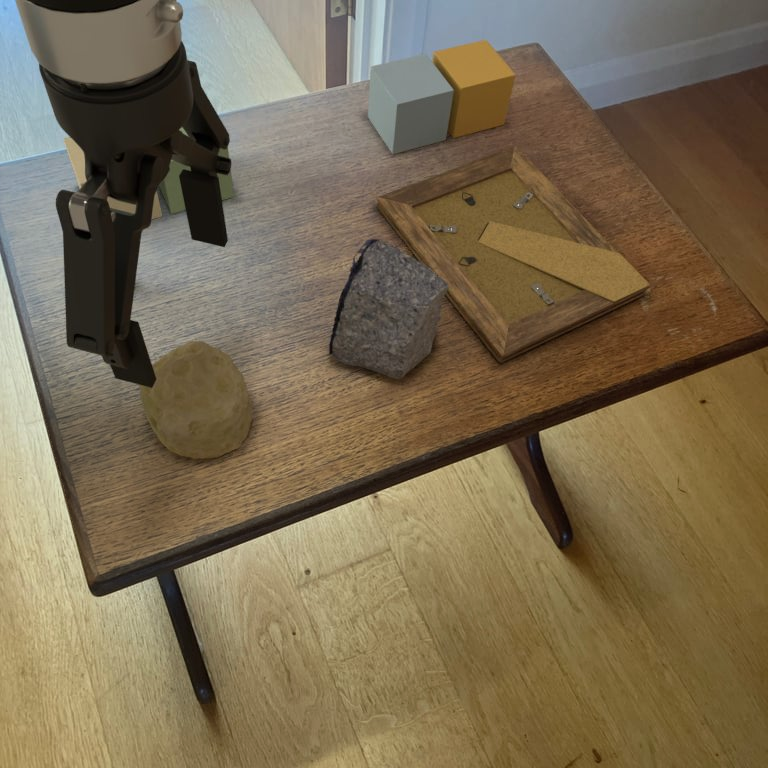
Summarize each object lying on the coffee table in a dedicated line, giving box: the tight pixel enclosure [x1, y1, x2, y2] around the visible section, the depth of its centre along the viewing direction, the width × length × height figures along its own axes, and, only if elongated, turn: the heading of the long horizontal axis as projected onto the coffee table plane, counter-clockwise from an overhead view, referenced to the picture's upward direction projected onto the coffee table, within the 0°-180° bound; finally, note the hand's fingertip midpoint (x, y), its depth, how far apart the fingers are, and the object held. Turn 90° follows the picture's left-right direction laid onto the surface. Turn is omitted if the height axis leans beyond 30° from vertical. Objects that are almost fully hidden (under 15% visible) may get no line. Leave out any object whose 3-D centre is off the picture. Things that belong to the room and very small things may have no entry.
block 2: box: [158, 127, 235, 215], centre depth 87 cm, size 7×7×7 cm
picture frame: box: [376, 145, 651, 364], centre depth 87 cm, size 19×2×24 cm
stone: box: [328, 238, 449, 380], centre depth 76 cm, size 12×10×10 cm
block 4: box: [431, 39, 516, 139], centre depth 97 cm, size 7×7×7 cm
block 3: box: [367, 53, 454, 155], centre depth 94 cm, size 7×7×7 cm
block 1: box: [63, 136, 163, 220], centre depth 85 cm, size 7×7×7 cm
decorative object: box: [138, 340, 254, 460], centre depth 71 cm, size 9×10×10 cm
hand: (175, 305), depth 60 cm, fingers open, 13 cm apart
